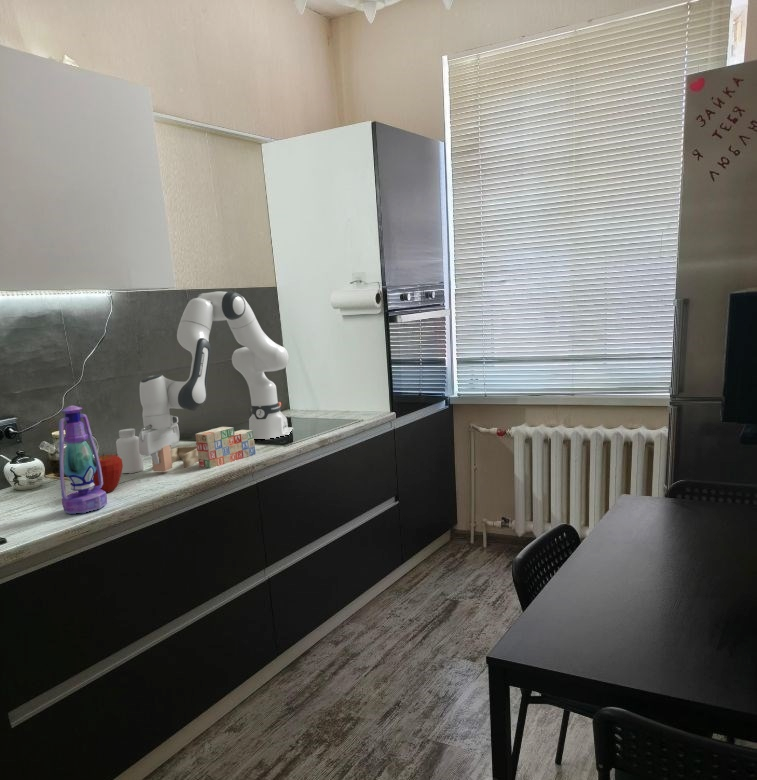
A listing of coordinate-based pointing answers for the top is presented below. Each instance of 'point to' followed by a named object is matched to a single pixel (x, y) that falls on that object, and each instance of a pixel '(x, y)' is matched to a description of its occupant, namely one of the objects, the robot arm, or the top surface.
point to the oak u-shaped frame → (185, 455)
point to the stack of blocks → (223, 446)
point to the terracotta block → (163, 460)
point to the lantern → (79, 464)
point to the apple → (109, 472)
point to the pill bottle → (129, 451)
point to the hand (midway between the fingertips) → (162, 461)
